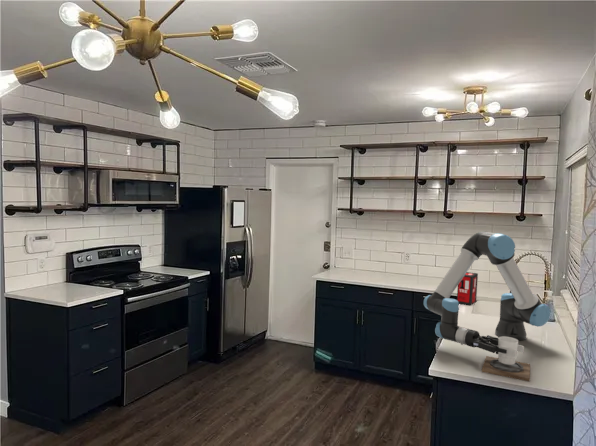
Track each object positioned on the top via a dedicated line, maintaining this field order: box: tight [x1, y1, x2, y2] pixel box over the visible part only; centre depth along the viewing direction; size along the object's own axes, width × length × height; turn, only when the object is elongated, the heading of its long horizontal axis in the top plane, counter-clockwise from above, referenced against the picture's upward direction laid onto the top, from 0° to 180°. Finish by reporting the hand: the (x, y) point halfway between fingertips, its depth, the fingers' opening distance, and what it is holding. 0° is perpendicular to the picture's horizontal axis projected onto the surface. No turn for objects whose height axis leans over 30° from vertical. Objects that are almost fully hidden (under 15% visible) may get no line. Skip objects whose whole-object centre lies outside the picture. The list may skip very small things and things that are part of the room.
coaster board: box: [481, 355, 531, 382], centre depth 193 cm, size 18×18×2 cm
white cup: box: [497, 336, 519, 365], centre depth 192 cm, size 8×8×10 cm
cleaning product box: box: [456, 271, 479, 307], centre depth 311 cm, size 16×9×20 cm, turn 145°
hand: (519, 351), depth 189 cm, fingers open, 8 cm apart
